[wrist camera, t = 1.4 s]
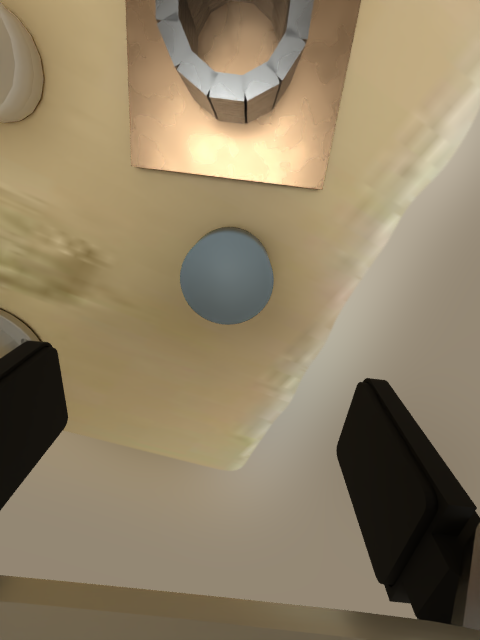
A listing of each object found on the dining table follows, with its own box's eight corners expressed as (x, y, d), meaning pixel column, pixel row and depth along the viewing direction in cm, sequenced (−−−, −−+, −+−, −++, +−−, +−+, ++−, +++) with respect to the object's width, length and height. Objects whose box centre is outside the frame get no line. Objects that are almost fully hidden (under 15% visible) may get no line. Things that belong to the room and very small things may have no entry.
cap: (261, 295, 30) (266, 328, 23) (195, 287, 30) (178, 319, 23) (271, 226, 28) (280, 240, 20) (199, 218, 27) (181, 228, 20)
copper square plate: (318, 189, 26) (345, 189, 19) (137, 167, 26) (93, 158, 18) (370, -72, 20) (443, -226, 12) (130, -106, 19) (58, -286, 12)
